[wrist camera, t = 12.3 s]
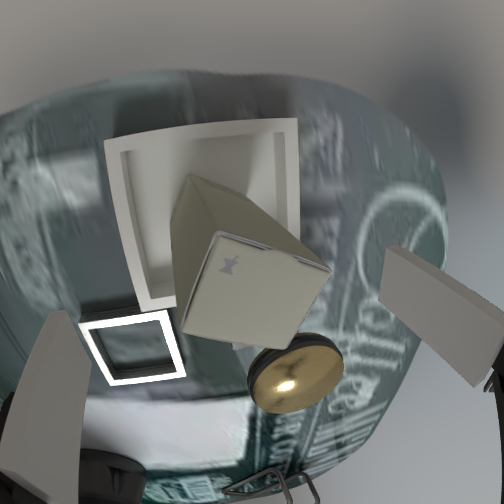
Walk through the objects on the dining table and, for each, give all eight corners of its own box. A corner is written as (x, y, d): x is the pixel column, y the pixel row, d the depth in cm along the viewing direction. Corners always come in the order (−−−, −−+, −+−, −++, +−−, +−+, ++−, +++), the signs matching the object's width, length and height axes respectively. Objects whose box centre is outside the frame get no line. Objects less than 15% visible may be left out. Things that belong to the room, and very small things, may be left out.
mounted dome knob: (229, 347, 28) (255, 423, 20) (220, 286, 25) (248, 365, 17) (297, 331, 30) (338, 397, 21) (298, 271, 27) (353, 335, 18)
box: (167, 224, 21) (167, 334, 10) (188, 170, 20) (209, 225, 9) (229, 245, 23) (287, 355, 12) (252, 195, 22) (338, 270, 11)
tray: (143, 292, 24) (141, 312, 21) (112, 139, 18) (103, 140, 15) (286, 266, 26) (299, 282, 24) (281, 119, 21) (296, 117, 18)
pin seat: (111, 375, 26) (110, 385, 25) (81, 314, 23) (78, 323, 21) (185, 366, 28) (186, 376, 27) (166, 300, 24) (166, 310, 23)
